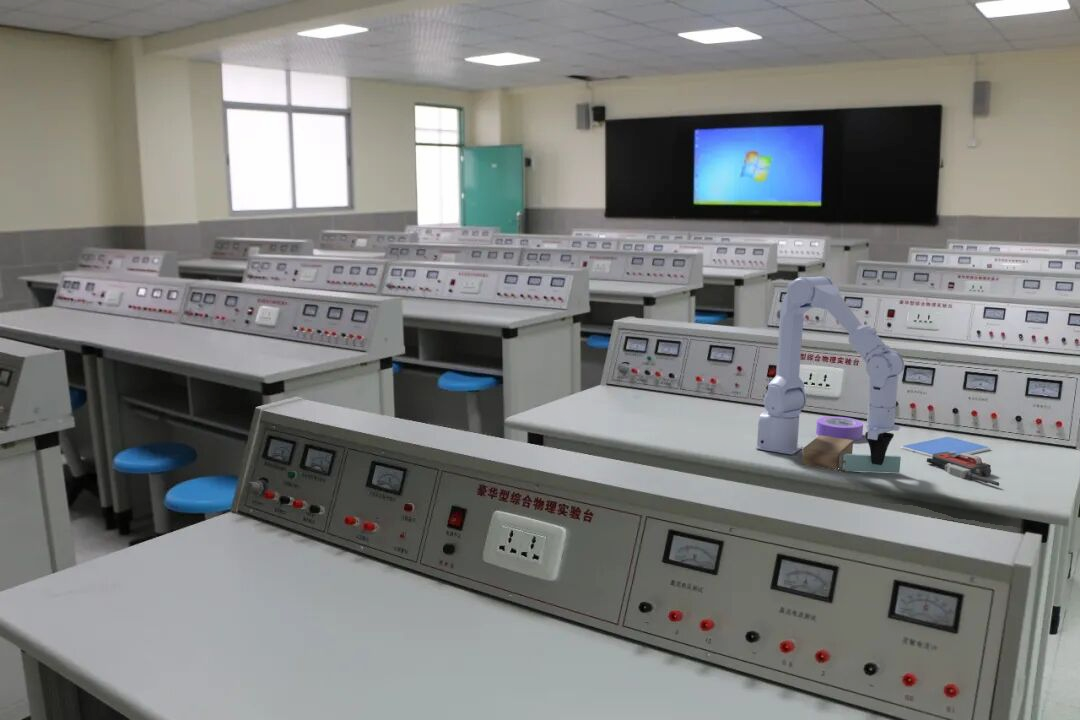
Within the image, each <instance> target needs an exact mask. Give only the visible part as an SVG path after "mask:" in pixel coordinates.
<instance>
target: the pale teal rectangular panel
mask: <svg viewBox="0 0 1080 720" xmlns="http://www.w3.org/2000/svg"><path fill="white" fill-rule="evenodd" d="M901 458H902V457H901V455H897V454H895V455H894V454H890V455H889V454H885V458H884V461H883V464H882V465H876V464H872V462H871V454H869V453H868V454H866V453H864V454H862V453H852V454H845V455H843V461H845V463H843V465H842V470H844V471H845V472H867V473H869V472H870V473H889V474H890V473H893V474H894V473H895V474H900V469H901Z"/></svg>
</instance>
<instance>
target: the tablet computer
mask: <svg viewBox="0 0 1080 720" xmlns="http://www.w3.org/2000/svg"><path fill="white" fill-rule="evenodd" d="M900 449H901V450H904V451H907V452H911V453H915V454H919V455H921V456H925V457H928V458H932V456H933V454H935V453H941V452H954V451H955V452H956V453H955V454H957V455H959V454H963V453H967V454H970V455H974V454H979V453H983V452H988V451H990V450H991V447H990V446H987V445H983V444H979V443H975V442H970V441H968V440H967V441H966V440H962V439H958V438H955V437H951V436H945V437H939V438H935V439H929V440H926V441H921V442H915V443H911V444H904V445H901V446H900Z"/></svg>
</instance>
